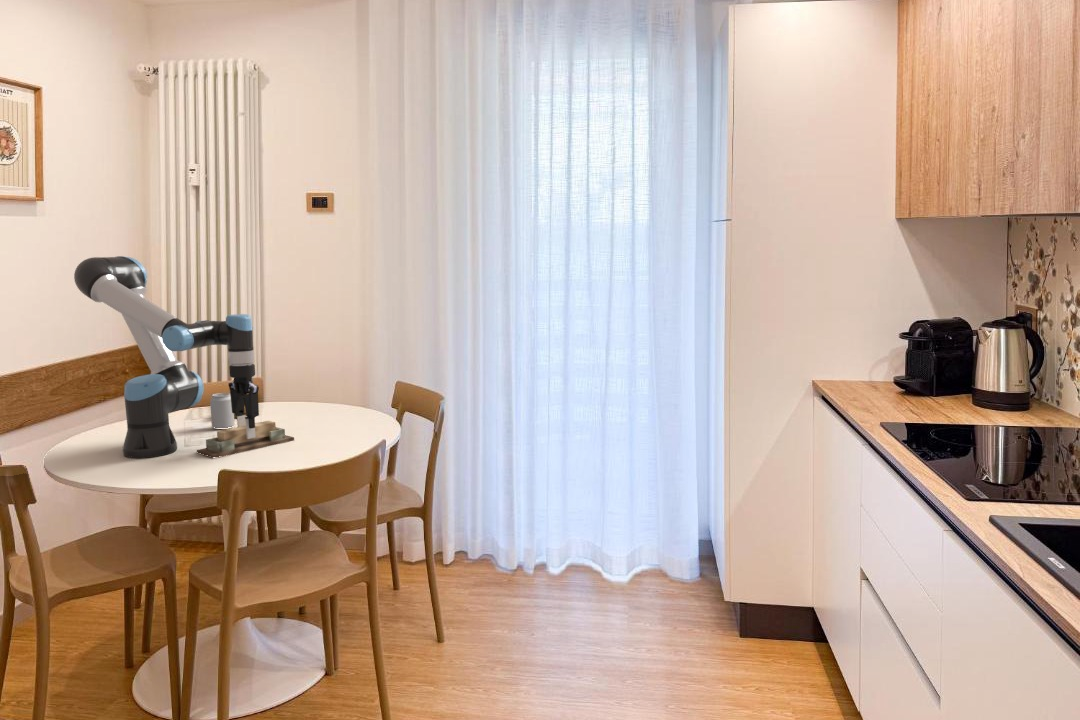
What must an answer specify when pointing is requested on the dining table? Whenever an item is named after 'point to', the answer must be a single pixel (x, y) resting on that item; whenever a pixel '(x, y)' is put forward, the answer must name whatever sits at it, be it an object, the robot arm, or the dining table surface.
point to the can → (221, 411)
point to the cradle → (243, 444)
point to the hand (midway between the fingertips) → (246, 436)
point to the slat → (240, 432)
